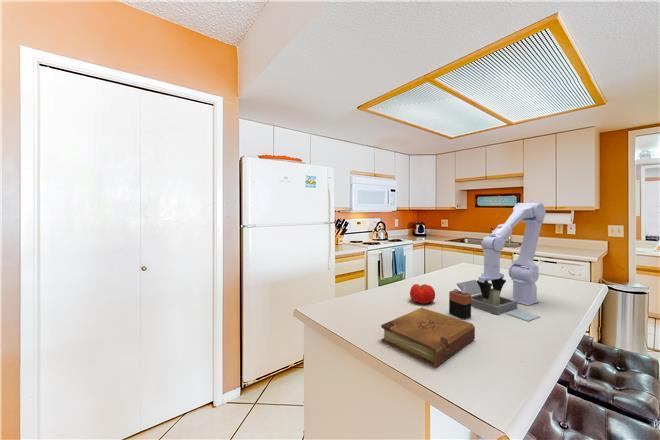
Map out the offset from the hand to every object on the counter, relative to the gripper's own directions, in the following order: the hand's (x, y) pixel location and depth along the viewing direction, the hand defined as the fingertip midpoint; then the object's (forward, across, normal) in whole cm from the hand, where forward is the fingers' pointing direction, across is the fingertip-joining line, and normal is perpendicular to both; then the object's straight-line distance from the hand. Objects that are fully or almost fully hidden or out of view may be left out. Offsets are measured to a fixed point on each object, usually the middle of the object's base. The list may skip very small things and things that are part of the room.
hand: (491, 296), depth 111 cm
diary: (+5, +46, +8) cm, 47 cm away
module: (+4, 0, 0) cm, 4 cm away
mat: (+4, -1, +12) cm, 12 cm away
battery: (+4, +20, 0) cm, 20 cm away
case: (+4, 0, -3) cm, 5 cm away
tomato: (+4, +21, -18) cm, 28 cm away
